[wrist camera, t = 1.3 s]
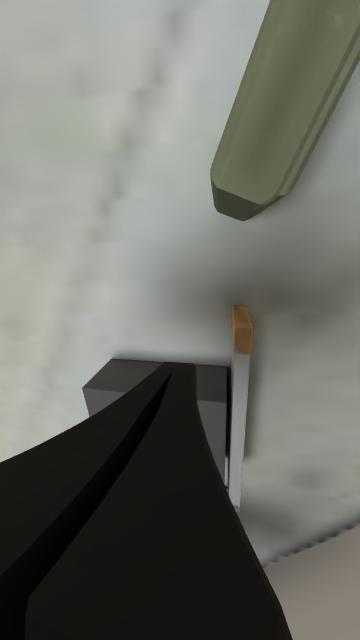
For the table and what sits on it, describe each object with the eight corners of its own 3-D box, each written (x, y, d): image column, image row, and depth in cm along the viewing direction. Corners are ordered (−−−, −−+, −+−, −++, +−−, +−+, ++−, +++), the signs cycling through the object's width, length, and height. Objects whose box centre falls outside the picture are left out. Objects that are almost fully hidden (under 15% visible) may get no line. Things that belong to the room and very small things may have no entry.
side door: (237, 461, 19) (240, 513, 15) (227, 459, 19) (227, 510, 16) (246, 306, 14) (253, 328, 10) (232, 306, 14) (234, 327, 10)
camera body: (224, 457, 19) (223, 520, 15) (127, 441, 22) (101, 492, 17) (226, 366, 16) (226, 413, 12) (111, 359, 18) (74, 395, 14)
